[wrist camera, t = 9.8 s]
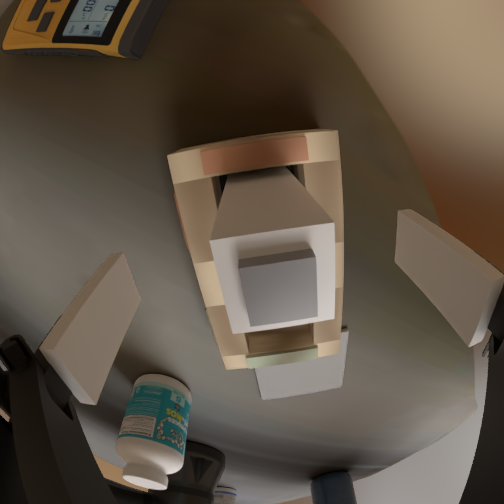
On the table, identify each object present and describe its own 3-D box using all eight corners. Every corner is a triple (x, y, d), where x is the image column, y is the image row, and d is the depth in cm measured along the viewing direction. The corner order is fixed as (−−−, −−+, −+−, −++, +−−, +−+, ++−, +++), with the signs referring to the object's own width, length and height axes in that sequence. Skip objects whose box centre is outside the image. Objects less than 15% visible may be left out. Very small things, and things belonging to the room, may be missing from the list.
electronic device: (48, -15, 10) (30, -24, 7) (184, -20, 12) (175, -39, 9) (14, 57, 13) (-7, 55, 10) (140, 66, 16) (122, 57, 13)
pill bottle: (198, 404, 32) (189, 496, 20) (147, 402, 32) (129, 487, 20) (183, 370, 29) (165, 478, 17) (126, 369, 29) (95, 464, 17)
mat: (262, 396, 31) (262, 400, 31) (249, 343, 27) (249, 347, 26) (340, 383, 31) (341, 386, 30) (347, 328, 26) (348, 331, 26)
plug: (237, 223, 21) (232, 344, 10) (228, 172, 19) (206, 248, 8) (289, 216, 21) (338, 328, 10) (283, 164, 19) (340, 229, 8)
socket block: (224, 339, 26) (222, 372, 23) (177, 149, 19) (160, 157, 15) (328, 324, 26) (339, 355, 22) (320, 128, 18) (339, 130, 14)
